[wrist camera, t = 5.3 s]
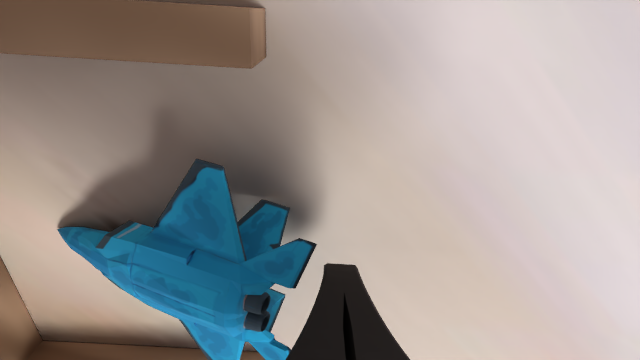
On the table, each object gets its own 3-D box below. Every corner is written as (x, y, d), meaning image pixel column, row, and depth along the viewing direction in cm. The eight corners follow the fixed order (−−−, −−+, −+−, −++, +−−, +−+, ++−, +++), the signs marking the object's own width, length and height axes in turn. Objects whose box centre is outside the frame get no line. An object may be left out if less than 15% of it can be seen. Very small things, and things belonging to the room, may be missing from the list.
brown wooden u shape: (271, 369, 20) (264, 415, 17) (25, 356, 19) (-14, 401, 17) (265, 8, 11) (249, 8, 9) (-185, -21, 11) (-320, -28, 8)
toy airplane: (270, 105, 12) (242, 145, 9) (380, 280, 16) (394, 362, 12) (59, 226, 15) (-30, 296, 11) (193, 351, 19) (159, 435, 15)
